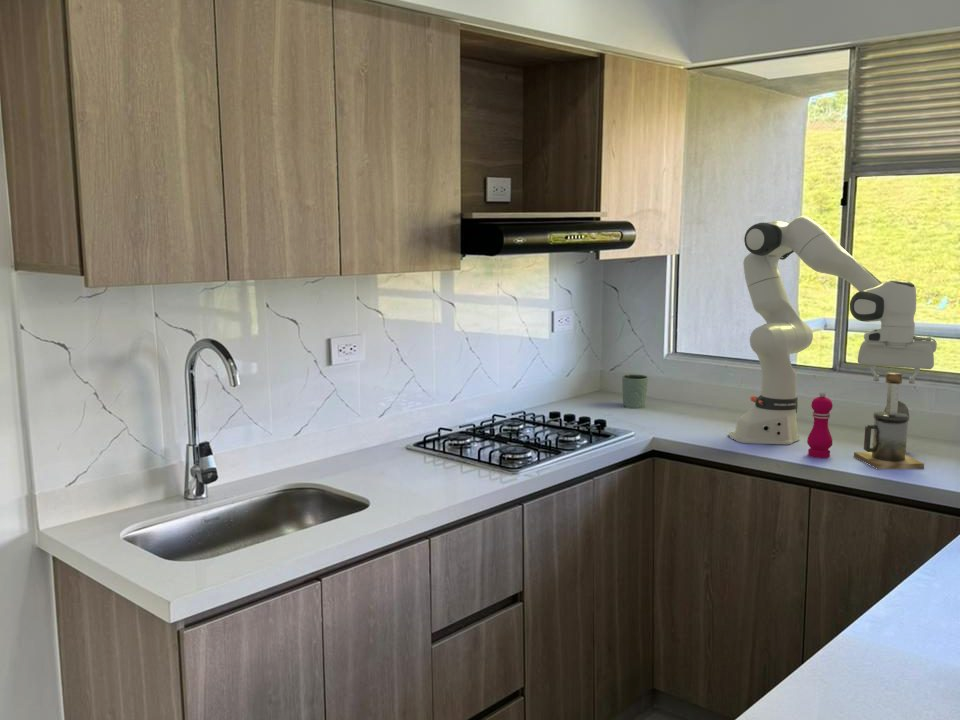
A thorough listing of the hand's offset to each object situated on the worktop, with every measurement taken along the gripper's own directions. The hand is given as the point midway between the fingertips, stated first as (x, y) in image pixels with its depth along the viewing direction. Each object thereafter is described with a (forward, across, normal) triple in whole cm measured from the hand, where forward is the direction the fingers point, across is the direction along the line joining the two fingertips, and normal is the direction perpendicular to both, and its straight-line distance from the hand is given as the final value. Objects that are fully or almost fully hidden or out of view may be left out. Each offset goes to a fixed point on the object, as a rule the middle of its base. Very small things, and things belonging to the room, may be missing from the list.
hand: (893, 382), depth 253 cm
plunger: (+10, 0, 0) cm, 10 cm away
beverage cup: (+25, -1, -18) cm, 31 cm away
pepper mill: (+25, +19, +1) cm, 31 cm away
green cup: (+25, +92, -47) cm, 106 cm away
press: (+23, +1, +1) cm, 23 cm away
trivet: (+24, 0, 0) cm, 24 cm away
